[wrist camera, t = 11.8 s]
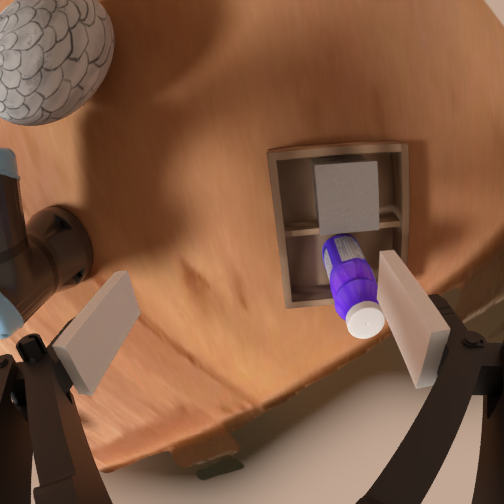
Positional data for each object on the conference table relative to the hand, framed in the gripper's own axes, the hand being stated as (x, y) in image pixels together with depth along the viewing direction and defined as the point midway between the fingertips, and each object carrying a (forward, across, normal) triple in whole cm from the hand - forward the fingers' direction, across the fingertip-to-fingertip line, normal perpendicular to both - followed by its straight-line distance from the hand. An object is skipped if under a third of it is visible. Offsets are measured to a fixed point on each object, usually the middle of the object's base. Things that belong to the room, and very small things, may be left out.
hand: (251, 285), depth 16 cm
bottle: (+30, +10, -12) cm, 34 cm away
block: (+30, +10, -2) cm, 31 cm away
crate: (+30, +10, -7) cm, 33 cm away
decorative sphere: (+31, -26, +23) cm, 47 cm away
